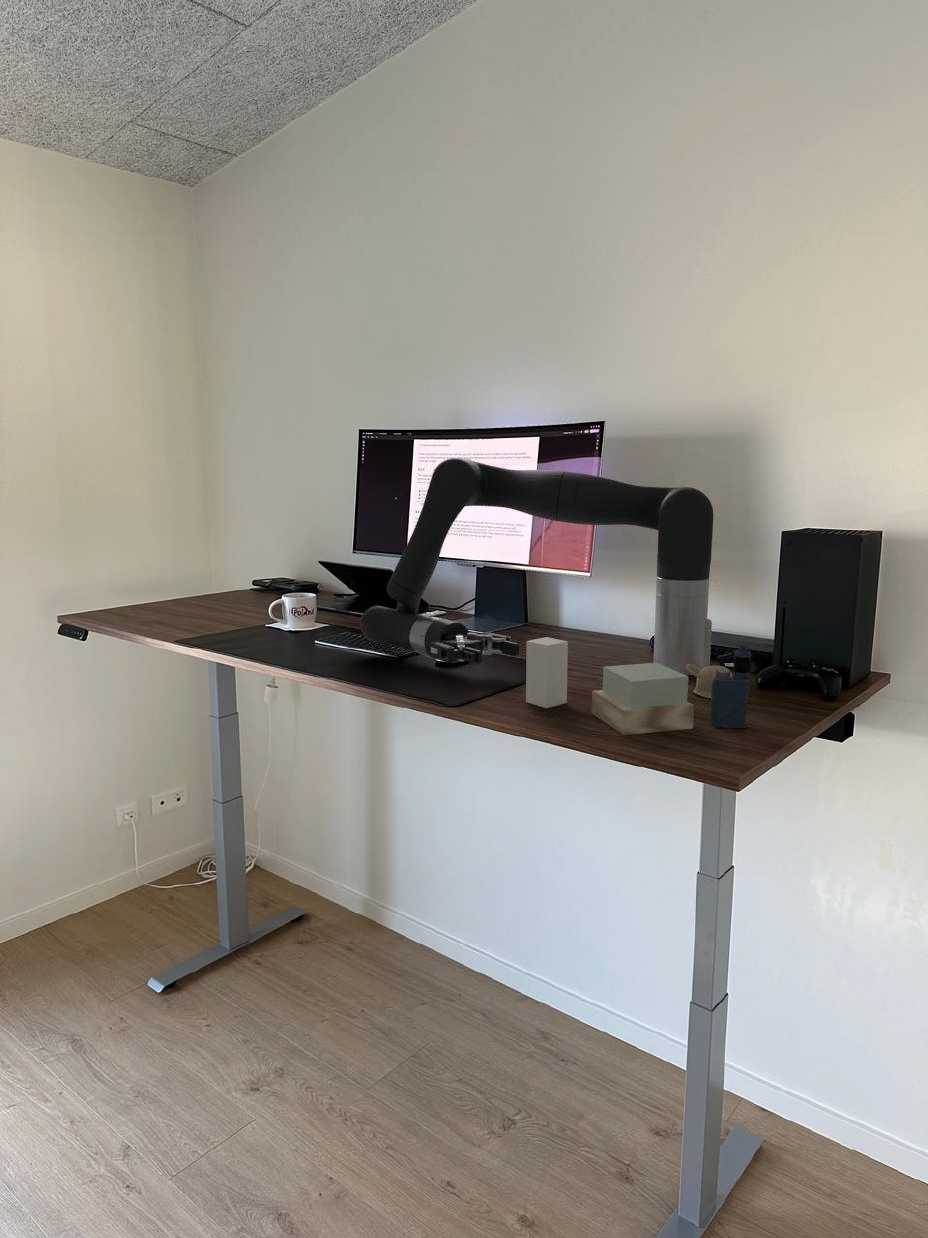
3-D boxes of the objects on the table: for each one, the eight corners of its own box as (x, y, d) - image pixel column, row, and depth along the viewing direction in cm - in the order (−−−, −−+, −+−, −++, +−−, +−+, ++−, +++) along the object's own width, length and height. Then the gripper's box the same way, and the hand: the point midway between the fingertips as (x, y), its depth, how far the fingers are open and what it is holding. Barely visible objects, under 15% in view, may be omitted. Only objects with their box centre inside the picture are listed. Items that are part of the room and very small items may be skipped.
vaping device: (748, 730, 122) (753, 648, 119) (710, 727, 123) (714, 646, 120) (746, 724, 124) (751, 644, 122) (709, 722, 125) (713, 642, 123)
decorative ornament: (738, 701, 136) (740, 668, 135) (684, 698, 138) (685, 666, 137) (736, 694, 140) (737, 663, 139) (683, 691, 142) (685, 660, 141)
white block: (545, 696, 139) (546, 637, 137) (566, 702, 136) (567, 641, 134) (525, 702, 136) (526, 641, 134) (546, 708, 133) (547, 645, 131)
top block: (655, 687, 131) (656, 662, 130) (687, 703, 122) (688, 676, 122) (602, 692, 128) (603, 666, 128) (630, 708, 120) (632, 681, 119)
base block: (656, 710, 133) (657, 685, 132) (692, 731, 122) (694, 705, 122) (591, 715, 130) (592, 690, 129) (623, 738, 120) (623, 710, 119)
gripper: (407, 623, 150) (467, 637, 138) (468, 614, 159) (530, 626, 147) (408, 664, 151) (467, 682, 139) (468, 653, 160) (529, 668, 148)
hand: (499, 653), depth 143 cm, fingers open, 8 cm apart
